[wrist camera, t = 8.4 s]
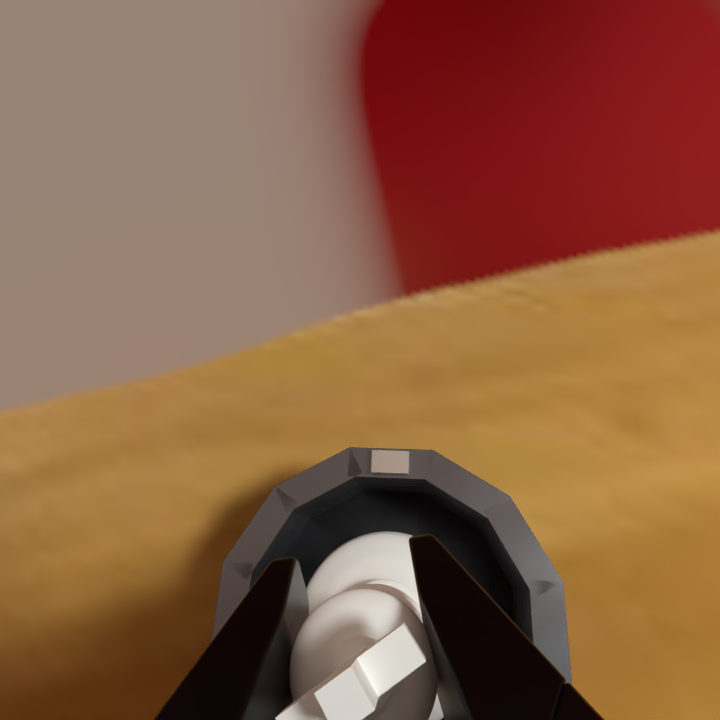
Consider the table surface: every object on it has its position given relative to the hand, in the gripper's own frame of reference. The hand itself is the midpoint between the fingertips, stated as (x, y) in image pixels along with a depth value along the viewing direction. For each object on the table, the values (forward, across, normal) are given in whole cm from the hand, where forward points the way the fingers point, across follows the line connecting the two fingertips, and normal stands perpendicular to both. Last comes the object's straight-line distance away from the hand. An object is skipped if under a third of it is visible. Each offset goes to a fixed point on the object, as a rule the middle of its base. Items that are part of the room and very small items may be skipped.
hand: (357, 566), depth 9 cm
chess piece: (+4, 0, +6) cm, 7 cm away
